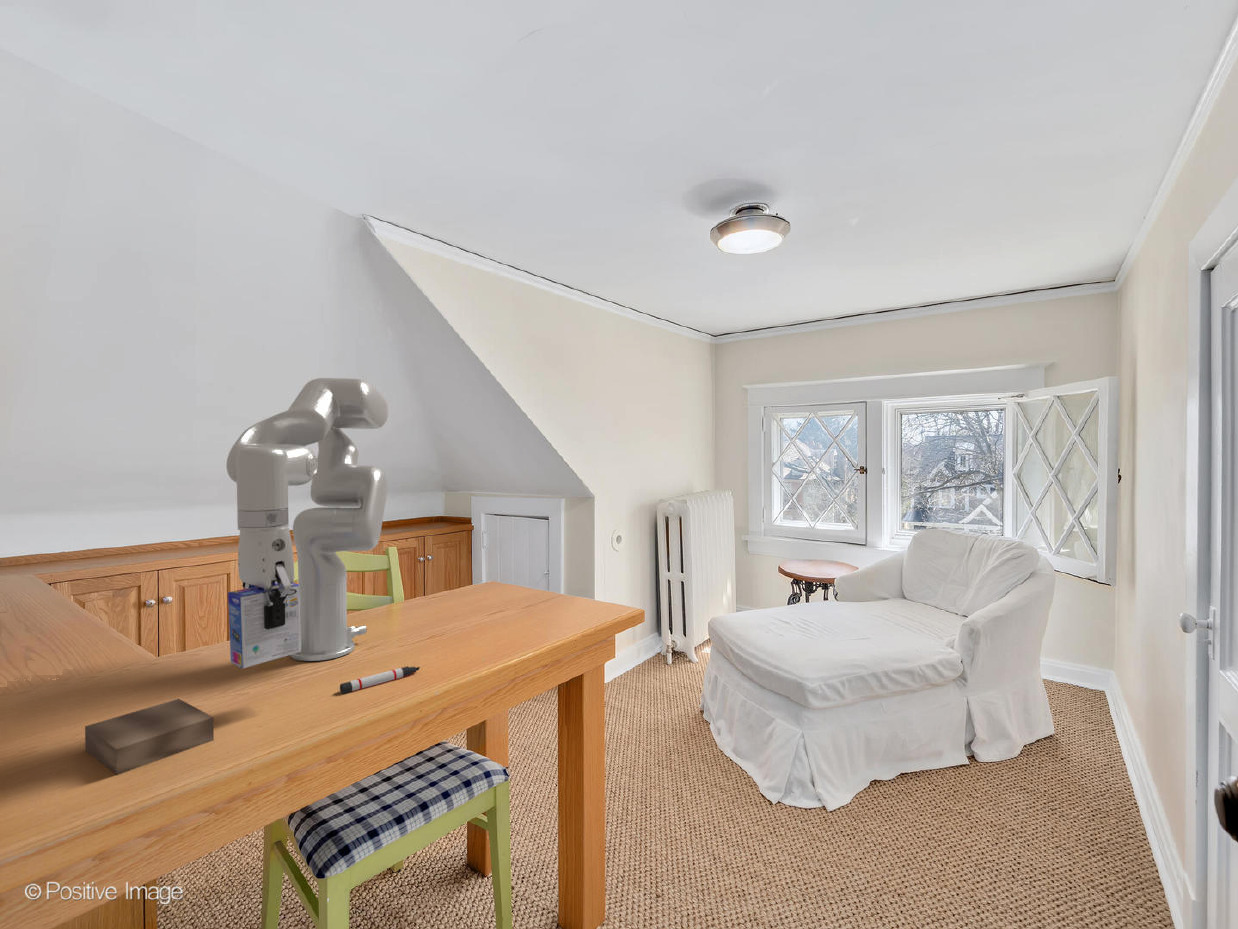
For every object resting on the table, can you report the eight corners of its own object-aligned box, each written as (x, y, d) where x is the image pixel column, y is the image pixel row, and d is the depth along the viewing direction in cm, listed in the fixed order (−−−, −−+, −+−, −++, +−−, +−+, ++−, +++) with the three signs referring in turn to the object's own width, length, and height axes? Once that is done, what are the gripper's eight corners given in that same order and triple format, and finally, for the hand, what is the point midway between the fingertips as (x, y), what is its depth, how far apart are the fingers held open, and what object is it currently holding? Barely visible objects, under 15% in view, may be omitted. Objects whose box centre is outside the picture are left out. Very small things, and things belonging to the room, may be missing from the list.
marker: (343, 696, 111) (343, 685, 111) (339, 693, 112) (339, 682, 112) (422, 674, 122) (422, 664, 122) (417, 671, 123) (417, 662, 123)
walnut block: (179, 722, 100) (178, 698, 100) (213, 743, 93) (213, 717, 93) (85, 753, 90) (85, 726, 90) (116, 778, 83) (116, 749, 83)
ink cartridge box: (287, 645, 111) (286, 566, 110) (303, 652, 107) (302, 571, 106) (227, 662, 102) (225, 577, 102) (242, 670, 99) (241, 582, 98)
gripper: (313, 521, 102) (314, 627, 103) (260, 512, 111) (262, 610, 112) (266, 526, 96) (269, 640, 97) (215, 517, 105) (217, 620, 106)
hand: (265, 622), depth 105 cm, fingers closed on ink cartridge box, 5 cm apart
